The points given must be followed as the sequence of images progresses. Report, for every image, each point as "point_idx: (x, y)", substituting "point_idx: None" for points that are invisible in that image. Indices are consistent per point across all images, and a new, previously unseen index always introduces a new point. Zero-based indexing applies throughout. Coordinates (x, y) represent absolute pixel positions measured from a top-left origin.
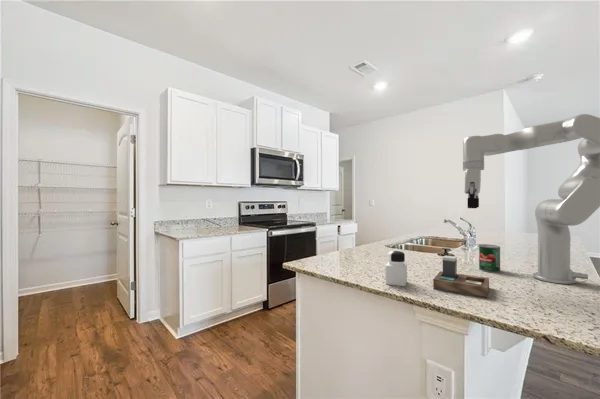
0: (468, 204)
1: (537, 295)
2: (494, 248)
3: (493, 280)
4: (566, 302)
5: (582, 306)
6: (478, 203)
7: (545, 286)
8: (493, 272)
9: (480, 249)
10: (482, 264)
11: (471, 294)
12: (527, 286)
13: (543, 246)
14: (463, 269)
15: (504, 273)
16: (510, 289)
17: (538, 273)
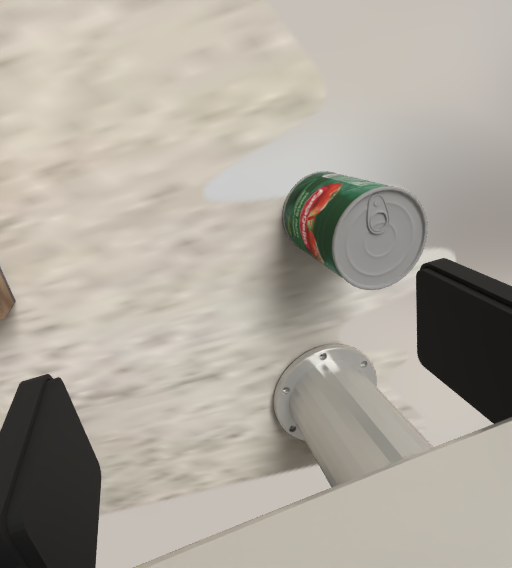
0: (15, 431)
1: None
2: (340, 274)
3: (153, 275)
4: None
5: None
6: (467, 389)
7: (211, 402)
8: (288, 236)
9: (341, 200)
10: (299, 199)
11: None
12: (164, 372)
13: (350, 463)
14: (256, 118)
15: (305, 269)
16: (68, 353)
17: (317, 370)
